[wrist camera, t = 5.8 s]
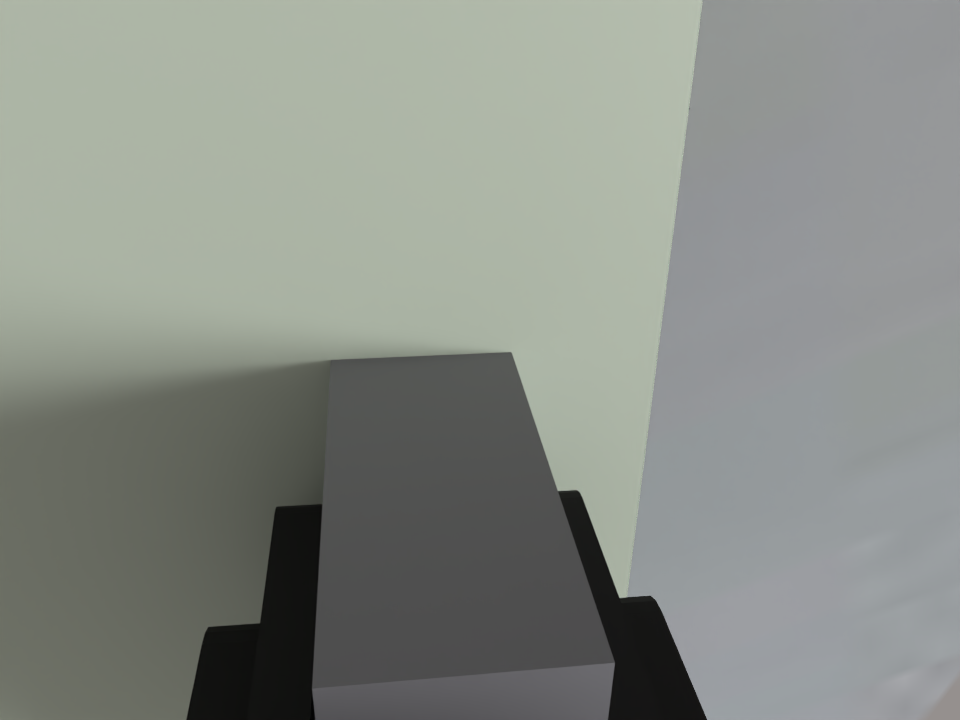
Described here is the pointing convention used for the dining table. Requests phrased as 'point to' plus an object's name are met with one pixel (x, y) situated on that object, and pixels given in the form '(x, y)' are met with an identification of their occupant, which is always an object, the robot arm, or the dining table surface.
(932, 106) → the dining table surface
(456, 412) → the lid
